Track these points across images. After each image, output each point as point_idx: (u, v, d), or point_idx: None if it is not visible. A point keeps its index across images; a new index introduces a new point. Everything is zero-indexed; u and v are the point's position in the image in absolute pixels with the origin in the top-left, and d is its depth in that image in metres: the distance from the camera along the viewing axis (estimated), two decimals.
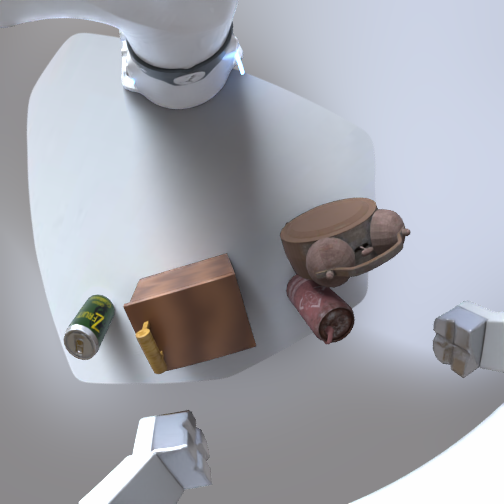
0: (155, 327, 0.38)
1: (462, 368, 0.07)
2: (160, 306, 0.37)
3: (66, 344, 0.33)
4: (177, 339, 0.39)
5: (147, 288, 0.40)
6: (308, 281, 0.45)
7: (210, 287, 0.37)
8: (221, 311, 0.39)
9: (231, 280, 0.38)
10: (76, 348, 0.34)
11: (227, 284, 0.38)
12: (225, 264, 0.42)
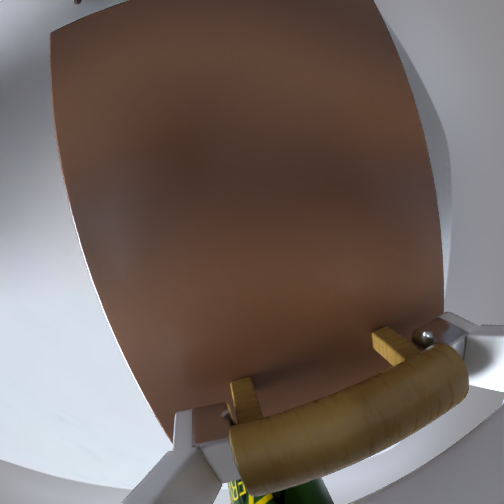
0: (261, 357, 0.09)
1: None
2: (158, 332, 0.08)
3: None
4: (329, 267, 0.09)
5: None
6: None
7: (75, 105, 0.07)
8: (195, 55, 0.07)
9: (67, 37, 0.06)
10: None
11: (76, 45, 0.06)
12: None
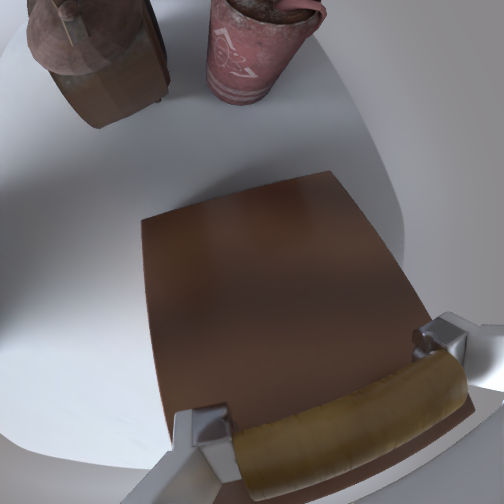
0: None
1: None
2: (198, 405, 0.10)
3: None
4: (331, 352, 0.11)
5: None
6: (208, 65, 0.19)
7: (157, 262, 0.14)
8: (229, 236, 0.15)
9: (152, 224, 0.16)
10: None
11: (158, 229, 0.15)
12: None
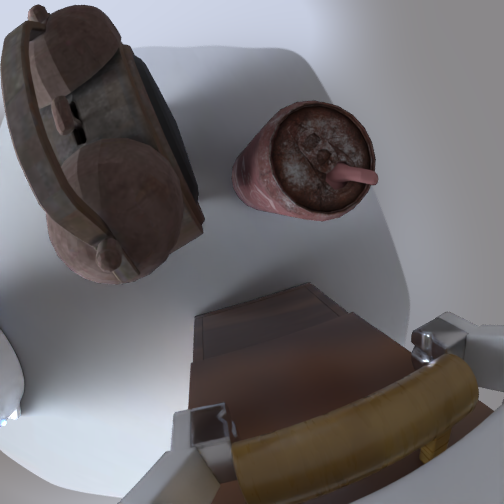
0: None
1: None
2: None
3: None
4: None
5: None
6: (239, 185, 0.21)
7: (202, 387, 0.15)
8: (265, 367, 0.16)
9: (200, 364, 0.18)
10: None
11: (205, 367, 0.17)
12: None
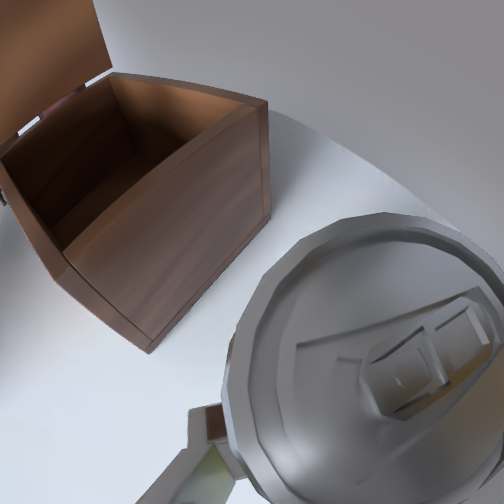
0: None
1: None
2: None
3: (502, 451, 0.02)
4: None
5: None
6: None
7: None
8: None
9: None
10: (476, 366, 0.03)
11: None
12: None
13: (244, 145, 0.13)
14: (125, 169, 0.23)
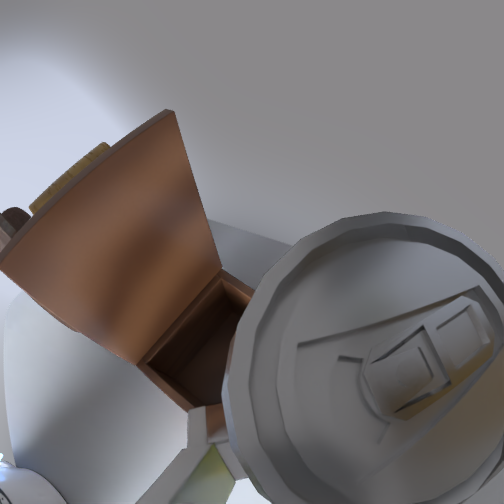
0: None
1: None
2: None
3: (503, 450, 0.02)
4: None
5: None
6: None
7: None
8: None
9: None
10: (476, 365, 0.03)
11: None
12: None
13: None
14: (227, 329, 0.32)
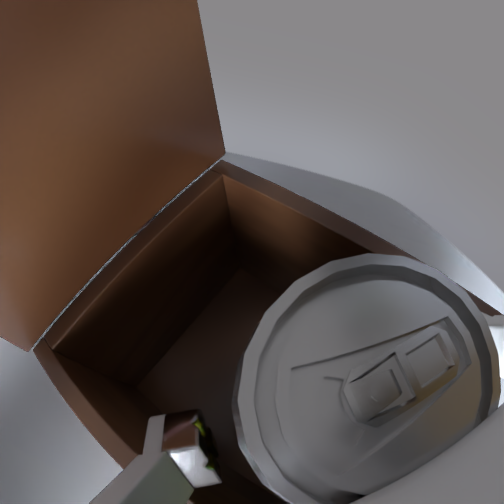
0: None
1: None
2: None
3: None
4: None
5: None
6: None
7: None
8: None
9: None
10: (441, 384, 0.04)
11: None
12: None
13: None
14: (231, 297, 0.18)
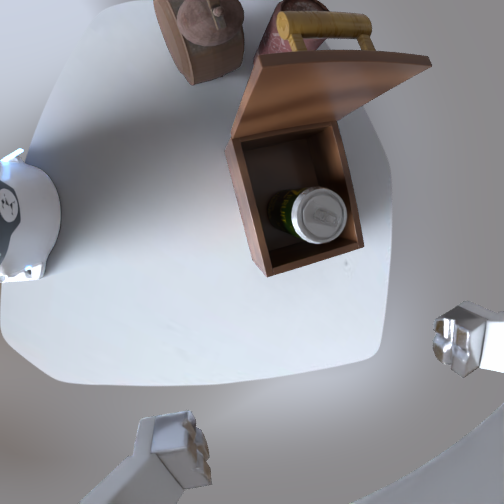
0: None
1: (462, 368, 0.07)
2: None
3: (322, 240, 0.27)
4: None
5: (256, 252, 0.33)
6: (260, 54, 0.30)
7: None
8: None
9: None
10: (329, 224, 0.27)
11: None
12: (229, 149, 0.31)
13: None
14: (294, 147, 0.37)
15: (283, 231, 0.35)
